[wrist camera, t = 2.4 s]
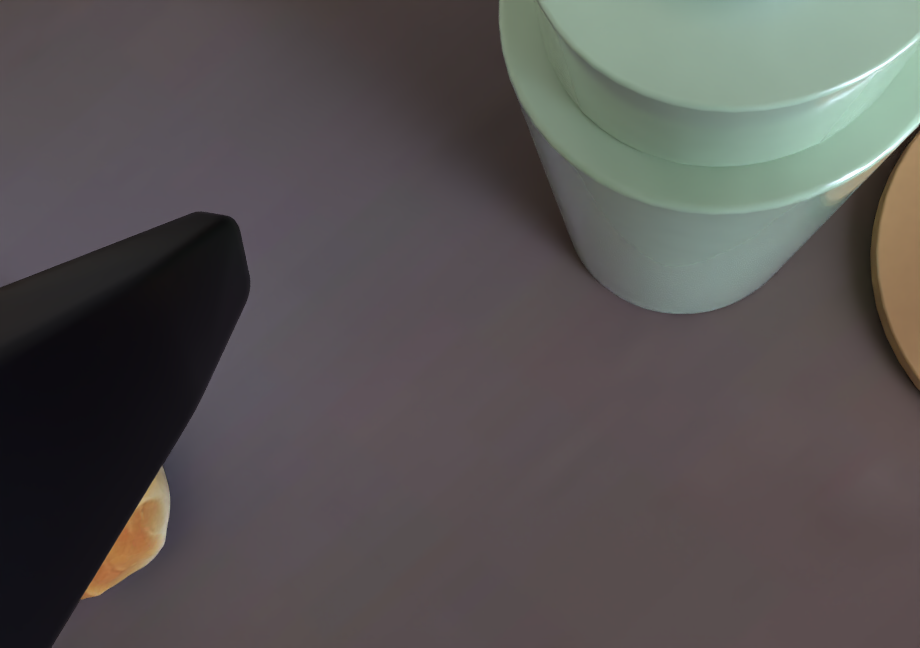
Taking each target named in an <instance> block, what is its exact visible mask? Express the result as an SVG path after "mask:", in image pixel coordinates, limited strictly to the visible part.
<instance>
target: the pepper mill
mask: <svg viewBox="0 0 920 648" xmlns="http://www.w3.org/2000/svg"><path fill="white" fill-rule="evenodd" d="M499 33H500V40H501V48H502V54H503V57H504V61H505V65H506V68H507V72H508V75H509V79H510V81H511V84H512V87H513V89H514V92H515V94H516V97H517V100H518V102H519V105H520V108H521V110H522V113H523V115H524V118H525V121H526V123H527V126H528V129H529V131H530V134H531V136H532V139H533V142H534V144H535V147H536V150H537V152H538V155H539V157H540V160H541V163H542V165H543V168H544V171H545V173H546V176H547V178H548V181H549V184H550V186H551V189H552V192H553V194H554V197H555V199H556V202H557V205H558V207H559V210H560V213H561V215H562V218H563V220H564V223H565V226H566V228H567V231H568V234H569V236H570V239H571V241H572V243H573V246H574V248H575V250H576V253H577V254H578V256H579V257H580V259H581V261H582V262H583V264H584V266H585V267H586V268H587V269H588V270H589V272H590V273H591V274H592V275H593V277H594V278H596V279H597V280H598V281H599V282H600V283H601V284H602V285H603V286H604V287H605V288H607V289H608V290H609V291H611V292H612V293H614V294H615V295H616V296H618V297H620V298H622V299H624V300H626V301H627V302H629V303H632V304H634V305H637V306H639V307H642V308H645V309H649V310H653V311H657V312H663V313H672V314H693V313H701V312H708V311H711V310H715V309H719V308H722V307H725V306H728V305H730V304H732V303H735V302H737V301H739V300H741V299H743V298H745V297H746V296H748V295H750V294H751V293H753V292H754V291H756V290H757V289H758V288H760V287H761V286H762V285H764V284H765V283H766V282H767V281H768V280H769V279H770V278H771V277H772V276H773V275H774V274H775V273H776V272H777V271H778V270H779V269H780V268H781V267H782V266H783V265H784V264H785V263H786V262H787V261H788V260H789V259H790V258H791V257H792V256H793V255H794V254H795V253H796V252H797V251H798V249H799V248H800V247H801V246H802V245H803V244H804V243H805V242H806V241H807V240H808V239H809V238H810V237H811V236H812V235H813V234H814V233H815V232H816V231H817V230H818V229H819V228H820V227H821V226H822V225H823V224H824V223H825V222H826V221H827V220H828V219H829V218H830V217H831V216H832V214H833V213H834V212H835V211H836V210H837V209H838V208H839V207H840V206H841V205H842V204H843V203H844V202H845V201H846V200H847V199H848V198H849V197H850V196H851V195H852V194H853V193H854V192H855V191H856V190H857V189H858V188H859V187H860V186H861V185H862V184H863V183H864V182H865V180H866V179H867V178H868V177H869V176H870V175H871V174H872V173H873V172H874V171H875V170H876V169H877V168H878V167H879V166H880V165H881V164H882V163H883V162H884V161H885V160H886V159H887V158H888V157H889V156H890V155H891V154H892V153H893V152H894V151H895V150H896V149H897V148H898V147H899V145H900V144H901V143H902V142H903V141H904V140H905V139H906V138H907V137H908V136H909V135H910V134H911V133H912V132H913V131H914V130H915V129H916V128H917V127H918V126H919V124H920V0H499Z"/></svg>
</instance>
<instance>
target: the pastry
mask: <svg viewBox="0 0 920 648" xmlns="http://www.w3.org/2000/svg"><path fill="white" fill-rule="evenodd" d="M169 512H170V492H169V486H168V482H167V478H166V475H165V472H164V469H163V466H162V467H161V468H160V470H159V472H158V473H157V475H156V477H155V478H154V480H153V481H152V483H151V485H150V486H149V488H148V490H147V491H146V493H145V495H144V496H143V498H142V500H141V501H140V503H139V504H138V506H137V508H136V509H135V511H134V513H133V514H132V516H131V518H130V519H129V521H128V522H127V524H126V526H125V527H124V529H123V531H122V532H121V534H120V536H119V537H118V539H117V540H116V542H115V544H114V545H113V547H112V549H111V550H110V552H109V554H108V555H107V557H106V559H105V560H104V562H103V563H102V565H101V567H100V568H99V570H98V572H97V573H96V575H95V577H94V578H93V580H92V581H91V583H90V585H89V586H88V588H87V590H86V591H85V593H84V595H83V596H82V598H81V599H85V598H89V597H95V596H98V595H100V594H101V593H103V592H104V591H106V590H107V589H109V588H111V587H113V586H114V585H116V584H117V583H119V582H120V581H122V580H123V579H125V578H126V577H127V576H129V575H131V574H132V573H134V572H136V571H137V570H139V569H141V568H143V567H144V566H146V565H147V564H148V563H149V562H150V561H152V560H153V559H154V558H155V557H156V555H157V554H158V553H159V551H160V550H161V549H162V547H163V546H164V543H165V538H166V530H167V524H168V519H169Z"/></svg>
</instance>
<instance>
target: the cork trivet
mask: <svg viewBox="0 0 920 648" xmlns="http://www.w3.org/2000/svg"><path fill="white" fill-rule="evenodd" d="M870 258H871V280H872V286H873V291H874V297H875V302H876V307H877V311H878V314H879V317H880V320H881V323H882V326H883V329H884V332H885V334H886V337H887V339H888V341H889V343H890V345H891V347H892V349H893V351H894V353H895V355H896V357H897V359H898V361H899V362H900V364H901V365H902V367H903V368H904V370H905V371H906V373H907V374H908V376H909V377H910V379H911V380H912V382H913V383H914V385H915V386H916V387H917V388H918V389H919V391H920V130H919V131H918V133H917V134H916V135H915V137H914V138H913V139H912V140H911V142H910V143H909V144H908V146H907V147H906V148H905V149H904V151H903V153H902V154H901V156H900V158H899V160H898V161H897V163H896V165H895V166H894V168H893V170H892V172H891V173H890V175H889V178H888V180H887V183H886V185H885V188H884V190H883V193H882V195H881V198H880V200H879V204H878V208H877V212H876V216H875V220H874V225H873V232H872V242H871V252H870Z"/></svg>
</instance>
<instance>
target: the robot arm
mask: <svg viewBox="0 0 920 648" xmlns="http://www.w3.org/2000/svg"><path fill="white" fill-rule="evenodd" d="M249 291H250V275H249V271H248V266H247V261H246V256H245V252H244V247H243V242H242V238H241V233H240V229H239V226H238V224H237V223H236V221H235V220H234V219H233V218H231V217H230V216H226V215H220V214H214V213H208V212H194V213H191V214H188V215H186V216H183V217H181V218H178V219H175V220H173V221H170V222H168V223H165V224H163V225H160V226H157V227H155V228H152V229H150V230H147V231H145V232H142V233H139V234H137V235H134V236H132V237H129V238H127V239H124V240H121V241H119V242H116V243H114V244H111V245H109V246H106V247H103V248H101V249H98V250H96V251H93V252H91V253H88V254H85V255H83V256H80V257H78V258H75V259H73V260H70V261H67V262H65V263H62V264H60V265H57V266H55V267H52V268H50V269H47V270H44V271H42V272H39V273H37V274H34V275H32V276H29V277H26V278H24V279H21V280H19V281H16V282H14V283H11V284H8V285H6V286H3V287H1V288H0V648H51V647H52V645H53V644H54V642H55V640H56V639H57V637H58V636H59V634H60V632H61V631H62V629H63V627H64V626H65V624H66V622H67V621H68V619H69V618H70V616H71V614H72V613H73V611H74V609H75V608H76V606H77V604H78V603H79V601H80V600H81V598H82V596H83V595H84V593H85V591H86V590H87V588H88V586H89V585H90V583H91V581H92V580H93V578H94V577H95V575H96V573H97V572H98V570H99V568H100V567H101V565H102V563H103V562H104V560H105V559H106V557H107V555H108V554H109V552H110V550H111V549H112V547H113V545H114V544H115V542H116V540H117V539H118V537H119V536H120V534H121V532H122V531H123V529H124V527H125V526H126V524H127V522H128V521H129V519H130V518H131V516H132V514H133V513H134V511H135V509H136V508H137V506H138V504H139V503H140V501H141V500H142V498H143V496H144V495H145V493H146V491H147V490H148V488H149V486H150V485H151V483H152V481H153V480H154V478H155V477H156V475H157V473H158V472H159V470H160V468H161V467H162V465H163V463H164V462H165V460H166V459H167V457H168V455H169V454H170V452H171V450H172V449H173V447H174V445H175V444H176V442H177V441H178V439H179V437H180V436H181V434H182V432H183V431H184V429H185V427H186V426H187V424H188V422H189V420H190V419H191V417H192V415H193V413H194V412H195V410H196V408H197V406H198V404H199V402H200V400H201V398H202V396H203V394H204V392H205V390H206V388H207V386H208V383H209V381H210V379H211V377H212V375H213V373H214V371H215V368H216V366H217V364H218V362H219V360H220V358H221V355H222V353H223V351H224V349H225V347H226V345H227V343H228V340H229V338H230V336H231V334H232V332H233V330H234V328H235V325H236V323H237V321H238V319H239V317H240V315H241V312H242V310H243V308H244V306H245V304H246V301H247V299H248V295H249Z"/></svg>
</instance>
